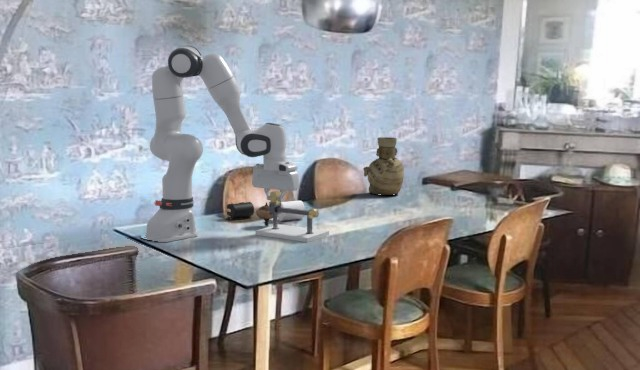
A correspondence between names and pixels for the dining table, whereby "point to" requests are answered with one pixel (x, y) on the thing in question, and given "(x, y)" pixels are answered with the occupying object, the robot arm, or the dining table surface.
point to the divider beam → (310, 214)
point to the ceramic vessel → (385, 169)
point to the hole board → (292, 233)
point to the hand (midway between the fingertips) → (275, 200)
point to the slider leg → (273, 204)
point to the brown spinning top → (264, 214)
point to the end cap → (240, 210)
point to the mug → (293, 206)
